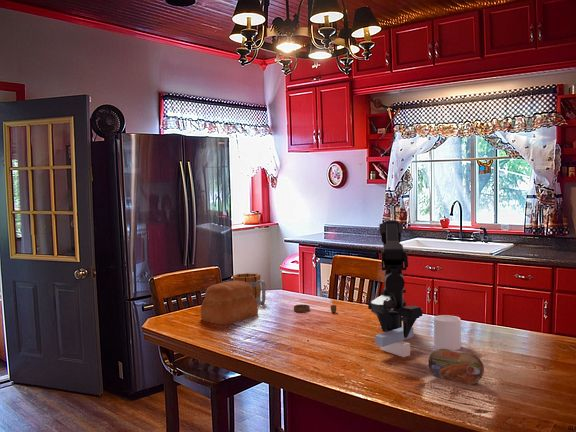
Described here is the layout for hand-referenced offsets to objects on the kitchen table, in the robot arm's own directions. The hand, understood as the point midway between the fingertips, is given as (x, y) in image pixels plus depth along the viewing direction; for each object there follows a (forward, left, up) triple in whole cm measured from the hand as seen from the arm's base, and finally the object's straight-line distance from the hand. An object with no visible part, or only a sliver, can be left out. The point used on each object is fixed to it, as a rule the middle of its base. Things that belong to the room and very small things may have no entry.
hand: (394, 334), depth 166 cm
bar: (0, 0, -2) cm, 2 cm away
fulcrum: (0, 0, -7) cm, 7 cm away
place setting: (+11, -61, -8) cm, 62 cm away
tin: (-6, +25, -7) cm, 27 cm away
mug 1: (+30, -89, -7) cm, 94 cm away
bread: (+44, -65, -7) cm, 79 cm away
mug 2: (-20, -1, -7) cm, 22 cm away
